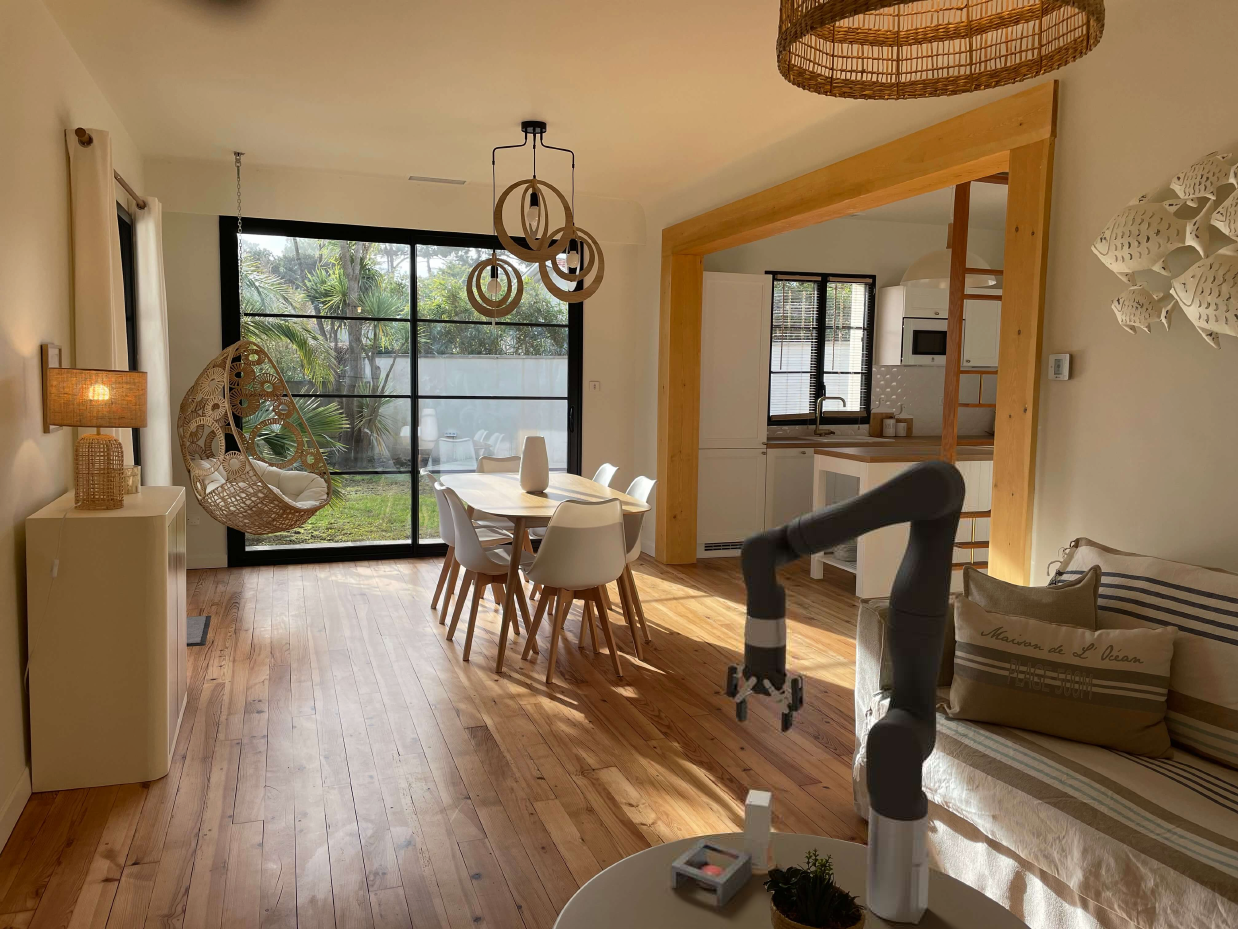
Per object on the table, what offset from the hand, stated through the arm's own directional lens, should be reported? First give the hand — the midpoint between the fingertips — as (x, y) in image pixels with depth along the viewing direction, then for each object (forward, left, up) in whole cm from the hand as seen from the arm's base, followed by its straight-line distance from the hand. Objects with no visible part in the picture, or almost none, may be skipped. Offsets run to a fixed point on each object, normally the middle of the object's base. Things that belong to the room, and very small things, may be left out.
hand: (763, 726), depth 160 cm
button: (+3, +13, -25) cm, 28 cm away
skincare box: (-1, +3, -24) cm, 25 cm away
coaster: (-1, +3, -25) cm, 25 cm away
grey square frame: (+3, +13, -25) cm, 28 cm away
